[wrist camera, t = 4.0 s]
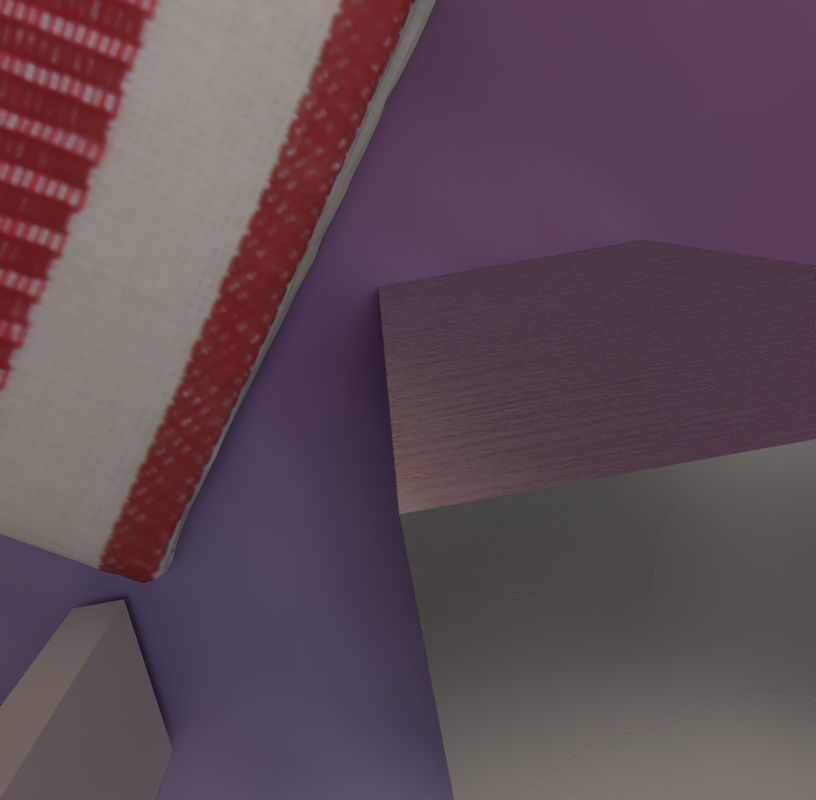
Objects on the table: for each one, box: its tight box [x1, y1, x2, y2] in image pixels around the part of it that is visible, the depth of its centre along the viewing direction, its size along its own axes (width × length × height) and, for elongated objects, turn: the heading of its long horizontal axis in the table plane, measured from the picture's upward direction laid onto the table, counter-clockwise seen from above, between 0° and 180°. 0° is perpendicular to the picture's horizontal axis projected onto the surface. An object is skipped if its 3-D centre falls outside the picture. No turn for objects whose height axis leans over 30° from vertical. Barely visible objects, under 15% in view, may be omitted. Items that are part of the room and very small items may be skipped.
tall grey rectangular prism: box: [379, 240, 816, 800], centre depth 7 cm, size 10×4×7 cm, turn 10°
